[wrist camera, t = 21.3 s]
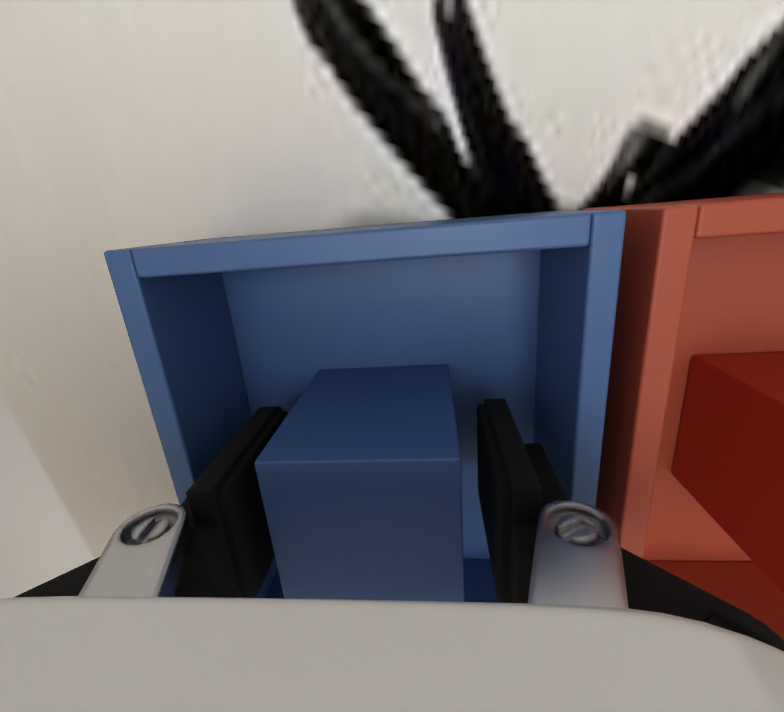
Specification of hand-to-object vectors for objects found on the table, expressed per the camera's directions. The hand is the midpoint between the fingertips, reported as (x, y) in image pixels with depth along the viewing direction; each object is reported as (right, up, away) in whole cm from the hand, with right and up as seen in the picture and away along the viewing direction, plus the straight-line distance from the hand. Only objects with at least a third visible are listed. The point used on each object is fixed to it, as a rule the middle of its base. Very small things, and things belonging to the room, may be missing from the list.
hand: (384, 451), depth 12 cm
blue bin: (0, +1, +2) cm, 2 cm away
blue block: (0, +1, +1) cm, 2 cm away
